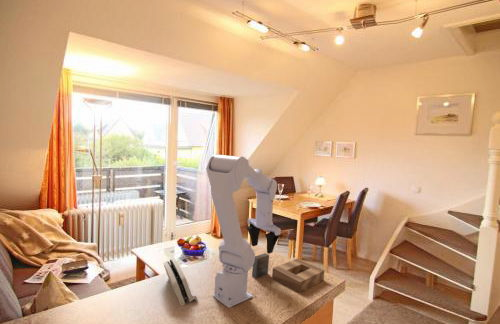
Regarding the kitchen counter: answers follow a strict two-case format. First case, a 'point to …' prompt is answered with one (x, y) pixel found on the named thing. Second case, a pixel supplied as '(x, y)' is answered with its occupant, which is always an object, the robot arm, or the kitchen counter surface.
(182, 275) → the white game console
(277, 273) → the slotted wooden block
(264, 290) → the kitchen counter surface
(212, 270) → the kitchen counter surface
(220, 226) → the robot arm
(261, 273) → the grey rectangular block
